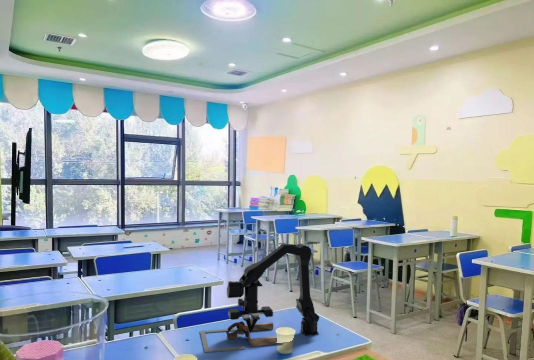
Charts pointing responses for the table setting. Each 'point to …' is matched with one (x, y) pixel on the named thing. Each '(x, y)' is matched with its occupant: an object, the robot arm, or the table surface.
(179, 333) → the table surface
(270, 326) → the holder
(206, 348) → the bay
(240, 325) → the brown curved piece
